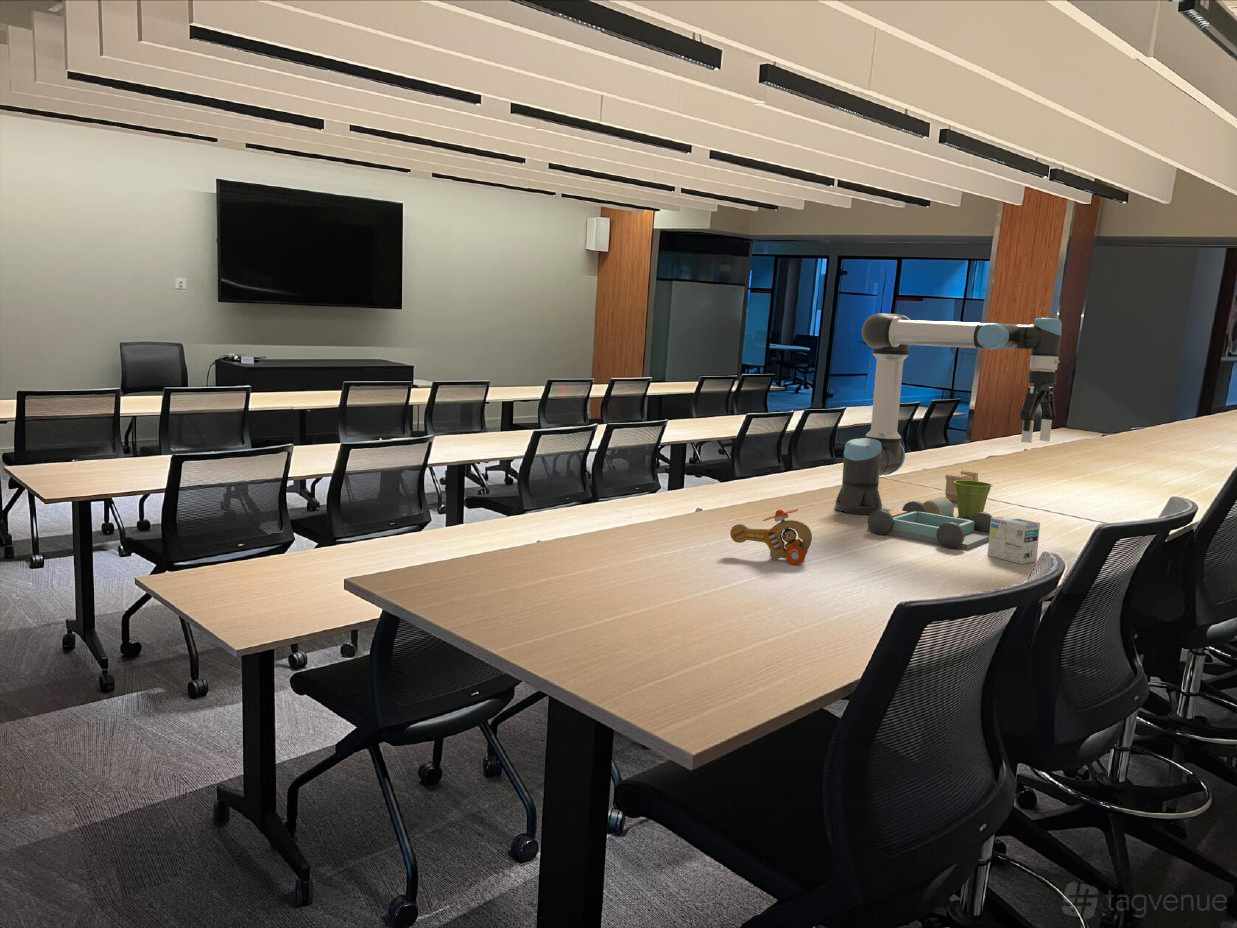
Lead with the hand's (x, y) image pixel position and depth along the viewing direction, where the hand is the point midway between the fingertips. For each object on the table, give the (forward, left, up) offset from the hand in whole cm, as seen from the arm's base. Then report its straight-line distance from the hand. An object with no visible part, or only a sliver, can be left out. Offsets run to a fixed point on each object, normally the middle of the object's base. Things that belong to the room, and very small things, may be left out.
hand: (1035, 441), depth 273 cm
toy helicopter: (-33, -89, -28) cm, 99 cm away
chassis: (-18, -28, -28) cm, 43 cm away
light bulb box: (+9, -38, -28) cm, 48 cm away
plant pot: (-21, +9, -28) cm, 36 cm away
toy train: (-35, +36, -28) cm, 57 cm away
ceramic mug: (-24, -8, -28) cm, 38 cm away
